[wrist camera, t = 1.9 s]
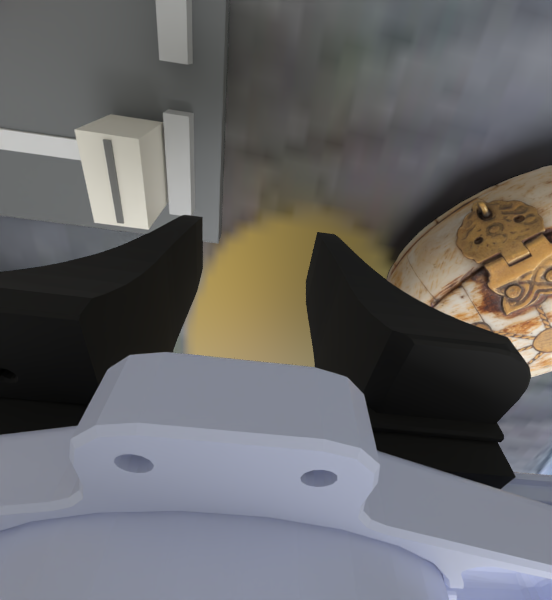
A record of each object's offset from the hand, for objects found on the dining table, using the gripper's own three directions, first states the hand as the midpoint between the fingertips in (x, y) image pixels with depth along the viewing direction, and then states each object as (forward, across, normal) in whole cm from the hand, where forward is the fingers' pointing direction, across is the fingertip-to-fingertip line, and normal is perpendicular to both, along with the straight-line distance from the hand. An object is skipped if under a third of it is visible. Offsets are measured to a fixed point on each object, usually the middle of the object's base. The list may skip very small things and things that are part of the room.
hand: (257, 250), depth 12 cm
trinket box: (+10, -15, +4) cm, 19 cm away
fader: (+8, +6, 0) cm, 10 cm away
